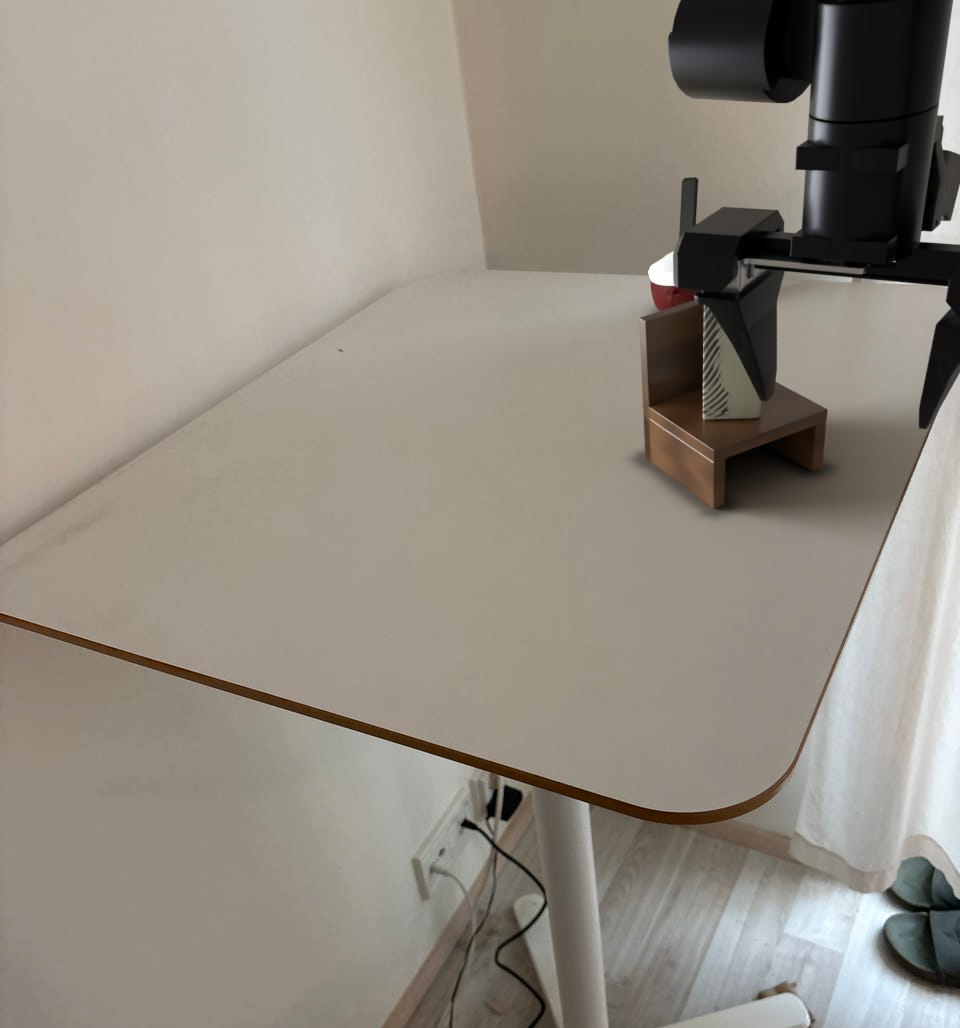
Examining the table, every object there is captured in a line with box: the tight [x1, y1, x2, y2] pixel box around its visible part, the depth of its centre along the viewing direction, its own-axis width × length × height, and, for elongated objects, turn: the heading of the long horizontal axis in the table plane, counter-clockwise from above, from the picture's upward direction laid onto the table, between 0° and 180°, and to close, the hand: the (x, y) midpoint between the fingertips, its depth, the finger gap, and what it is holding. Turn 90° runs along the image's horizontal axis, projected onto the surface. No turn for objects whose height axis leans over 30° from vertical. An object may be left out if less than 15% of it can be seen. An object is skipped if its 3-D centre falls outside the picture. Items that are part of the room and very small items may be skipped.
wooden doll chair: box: [638, 300, 829, 509], centre depth 73 cm, size 10×10×12 cm
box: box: [703, 305, 761, 419], centre depth 70 cm, size 5×4×13 cm
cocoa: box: [647, 176, 699, 312], centre depth 99 cm, size 10×6×12 cm, turn 135°
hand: (842, 411), depth 55 cm, fingers open, 9 cm apart
